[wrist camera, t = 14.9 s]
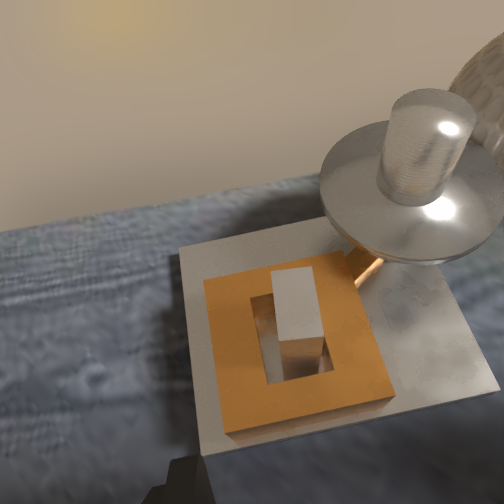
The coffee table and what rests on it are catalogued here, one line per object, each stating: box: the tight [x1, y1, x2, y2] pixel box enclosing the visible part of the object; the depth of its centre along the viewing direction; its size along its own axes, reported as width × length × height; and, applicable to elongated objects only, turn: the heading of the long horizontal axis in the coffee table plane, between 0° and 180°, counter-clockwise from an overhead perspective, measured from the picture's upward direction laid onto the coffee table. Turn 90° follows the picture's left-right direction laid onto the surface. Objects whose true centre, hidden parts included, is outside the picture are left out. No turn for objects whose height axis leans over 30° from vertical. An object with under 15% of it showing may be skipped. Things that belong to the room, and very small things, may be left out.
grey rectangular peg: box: [271, 266, 324, 381], centre depth 27 cm, size 2×4×10 cm, turn 4°
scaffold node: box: [179, 89, 504, 458], centre depth 29 cm, size 26×20×16 cm
